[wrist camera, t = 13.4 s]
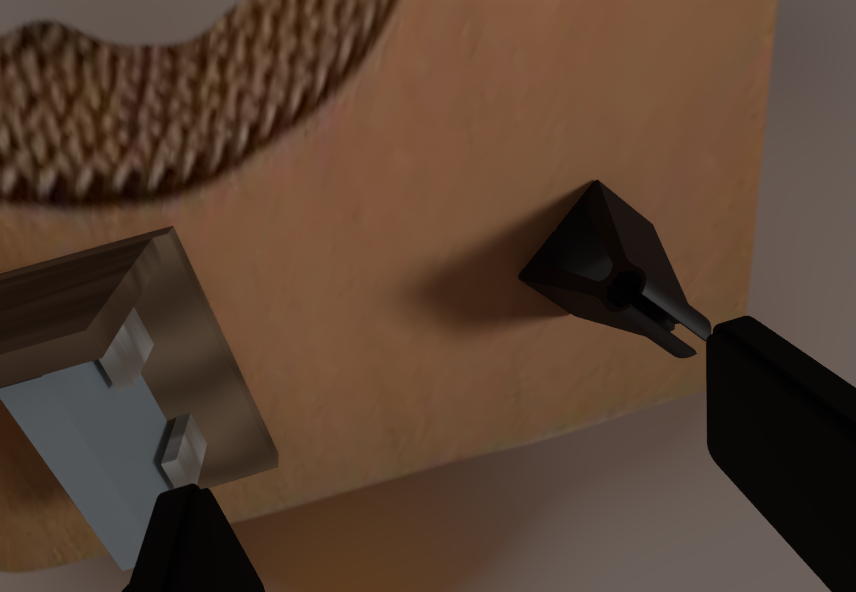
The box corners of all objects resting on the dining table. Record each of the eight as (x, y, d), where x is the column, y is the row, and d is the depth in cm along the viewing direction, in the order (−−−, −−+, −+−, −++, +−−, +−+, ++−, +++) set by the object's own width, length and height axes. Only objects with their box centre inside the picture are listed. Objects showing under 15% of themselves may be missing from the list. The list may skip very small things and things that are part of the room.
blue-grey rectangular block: (49, 313, 37) (-22, 394, 29) (99, 299, 37) (41, 376, 29) (146, 472, 44) (109, 575, 36) (188, 459, 44) (161, 559, 36)
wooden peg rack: (-45, 286, 37) (-216, 416, 25) (173, 225, 38) (108, 323, 26) (105, 506, 46) (33, 678, 34) (278, 454, 47) (267, 604, 35)
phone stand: (571, 313, 46) (650, 403, 36) (516, 276, 44) (582, 360, 33) (650, 222, 44) (758, 289, 33) (596, 178, 42) (694, 234, 31)
